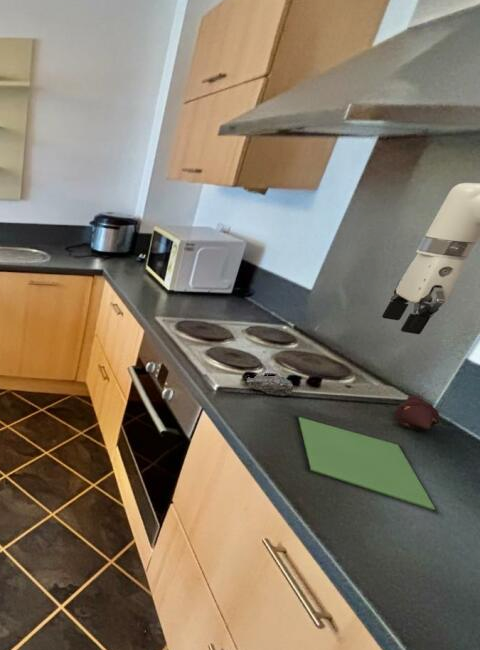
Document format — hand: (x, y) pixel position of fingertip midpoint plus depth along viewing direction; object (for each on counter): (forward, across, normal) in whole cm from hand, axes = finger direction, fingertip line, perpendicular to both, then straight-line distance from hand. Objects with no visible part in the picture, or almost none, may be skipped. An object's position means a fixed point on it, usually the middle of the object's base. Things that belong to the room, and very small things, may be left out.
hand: (399, 325), depth 93 cm
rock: (+22, 0, +18) cm, 29 cm away
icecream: (+22, -3, -10) cm, 25 cm away
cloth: (+22, -25, +6) cm, 34 cm away
